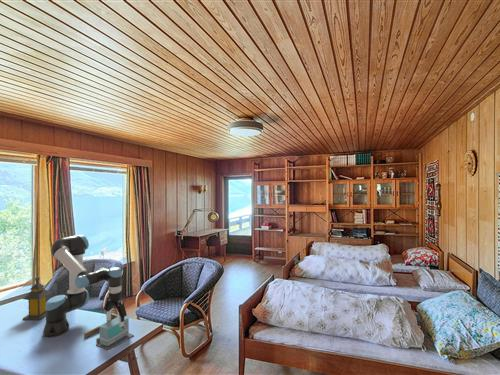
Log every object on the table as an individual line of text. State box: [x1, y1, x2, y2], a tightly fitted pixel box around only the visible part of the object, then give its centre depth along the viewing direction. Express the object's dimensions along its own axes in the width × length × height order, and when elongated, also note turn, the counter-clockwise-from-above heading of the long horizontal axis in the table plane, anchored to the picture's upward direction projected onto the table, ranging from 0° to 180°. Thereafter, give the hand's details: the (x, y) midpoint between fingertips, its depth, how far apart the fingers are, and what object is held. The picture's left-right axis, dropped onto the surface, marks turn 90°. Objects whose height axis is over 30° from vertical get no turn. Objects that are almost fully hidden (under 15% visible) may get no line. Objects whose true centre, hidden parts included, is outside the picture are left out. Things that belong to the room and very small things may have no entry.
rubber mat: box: [95, 332, 135, 352], centre depth 183 cm, size 12×19×1 cm, turn 151°
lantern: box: [22, 276, 52, 321], centre depth 216 cm, size 14×14×30 cm
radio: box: [99, 313, 130, 346], centre depth 182 cm, size 16×9×20 cm, turn 153°
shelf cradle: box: [83, 312, 119, 344], centre depth 191 cm, size 15×18×14 cm
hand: (115, 323), depth 184 cm, fingers open, 13 cm apart
